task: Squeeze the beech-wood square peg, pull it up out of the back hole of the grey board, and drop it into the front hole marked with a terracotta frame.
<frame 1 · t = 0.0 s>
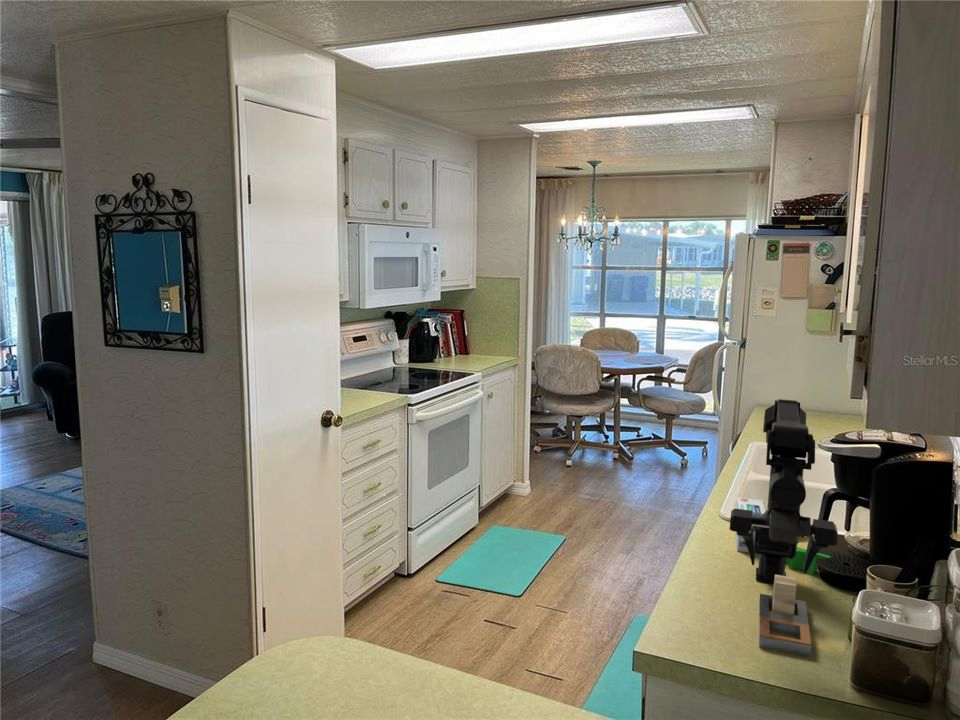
hand: (778, 568, 139), 15 cm above the countertop, tool pointing down, fingers open, 9 cm apart
light bulb box: (748, 545, 186), on the countertop
grey board: (783, 627, 146), on the countertop
onion: (785, 534, 194), on the countertop
pipe clamp: (801, 570, 173), on the countertop
beech peg: (782, 616, 151), resting in grey board
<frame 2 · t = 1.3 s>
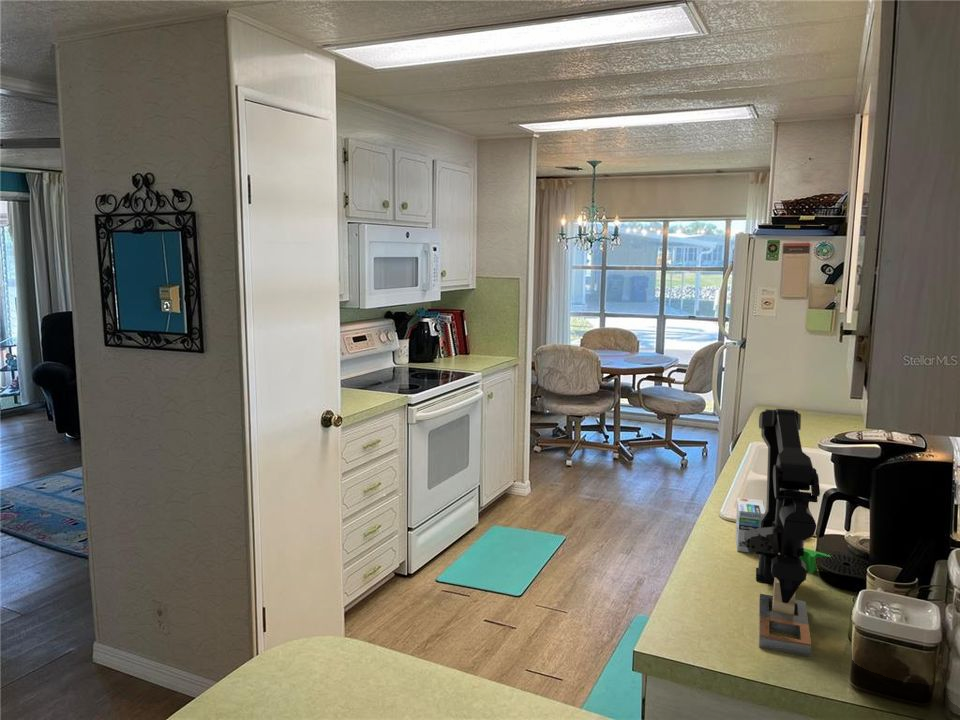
hand: (784, 592, 150), 5 cm above the countertop, tool pointing down, fingers open, 9 cm apart
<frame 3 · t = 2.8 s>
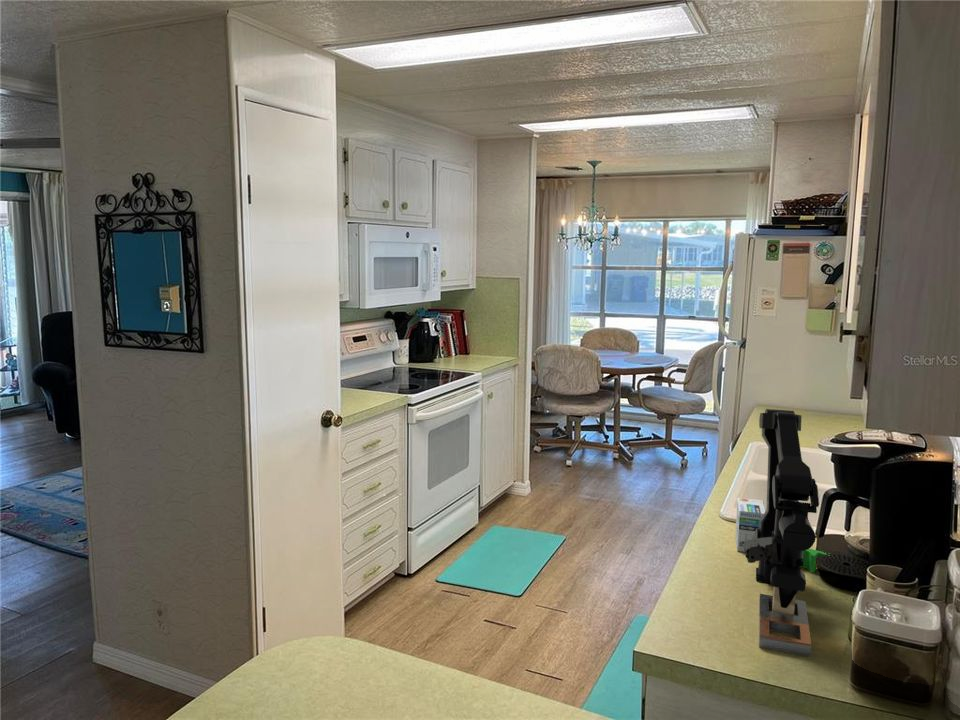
hand: (783, 602, 150), 3 cm above the countertop, tool pointing down, fingers closed on beech peg, 4 cm apart
beech peg: (782, 616, 151), resting in grey board, touching gripper
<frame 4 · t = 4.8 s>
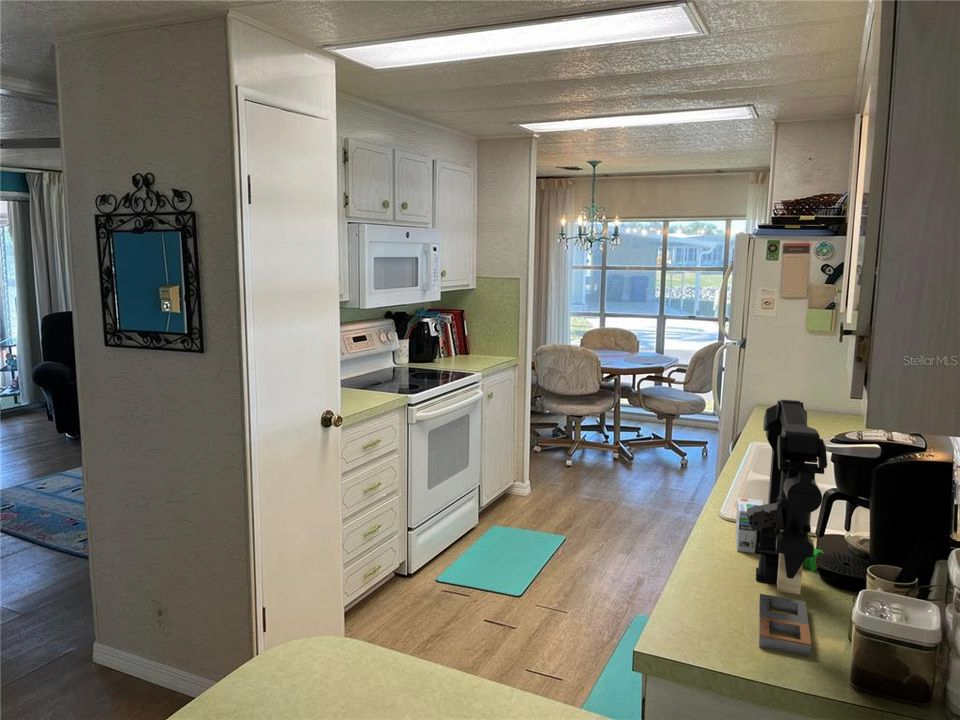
hand: (789, 573, 140), 14 cm above the countertop, tool pointing down, fingers closed on beech peg, 4 cm apart
beech peg: (788, 588, 140), point 11 cm above the countertop, touching gripper
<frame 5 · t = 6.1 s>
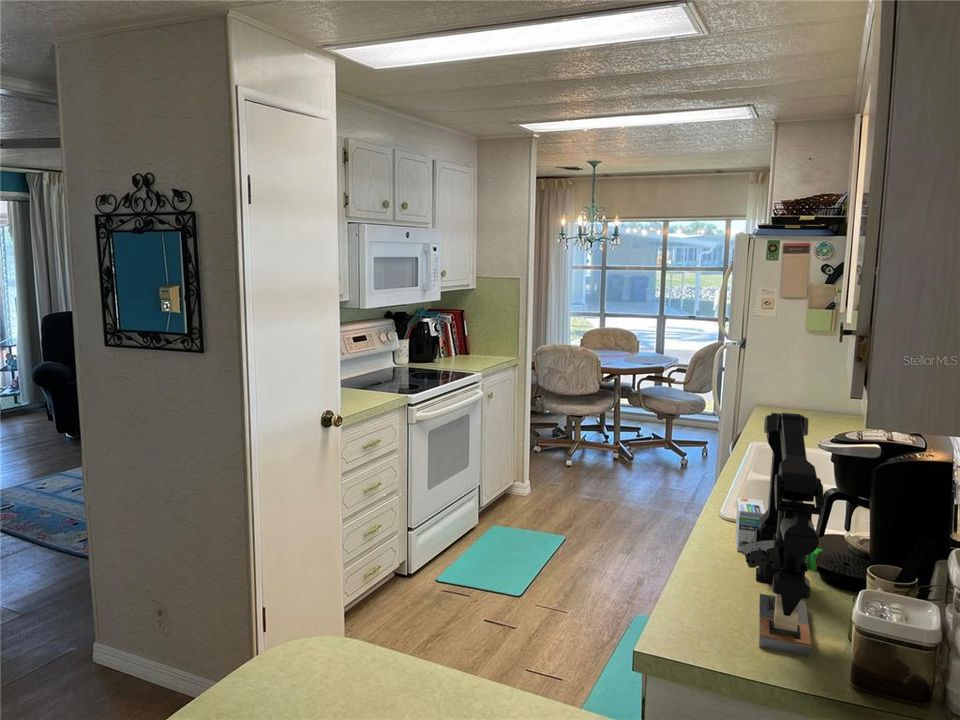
hand: (786, 610, 140), 6 cm above the countertop, tool pointing down, fingers closed on beech peg, 4 cm apart
beech peg: (785, 624, 141), point 3 cm above the countertop, touching gripper
when the fingers open (5 cm above the countertop, at t = 7.1 s): beech peg drops 2 cm, resting in grey board.
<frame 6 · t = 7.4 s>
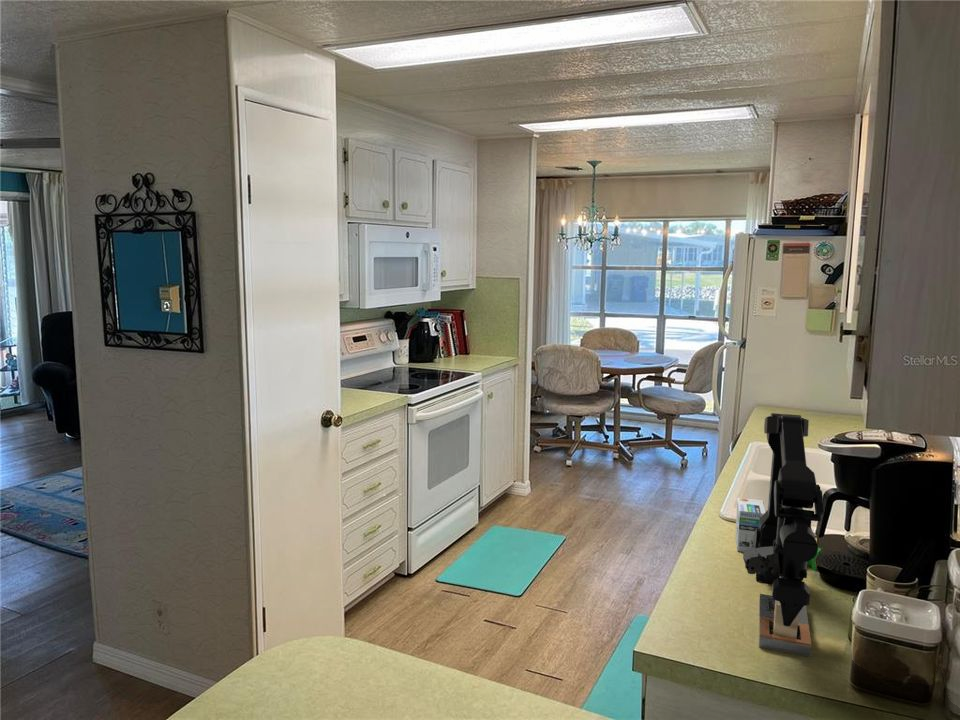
hand: (785, 616, 141), 5 cm above the countertop, tool pointing down, fingers open, 7 cm apart
beech peg: (783, 640, 141), resting in grey board
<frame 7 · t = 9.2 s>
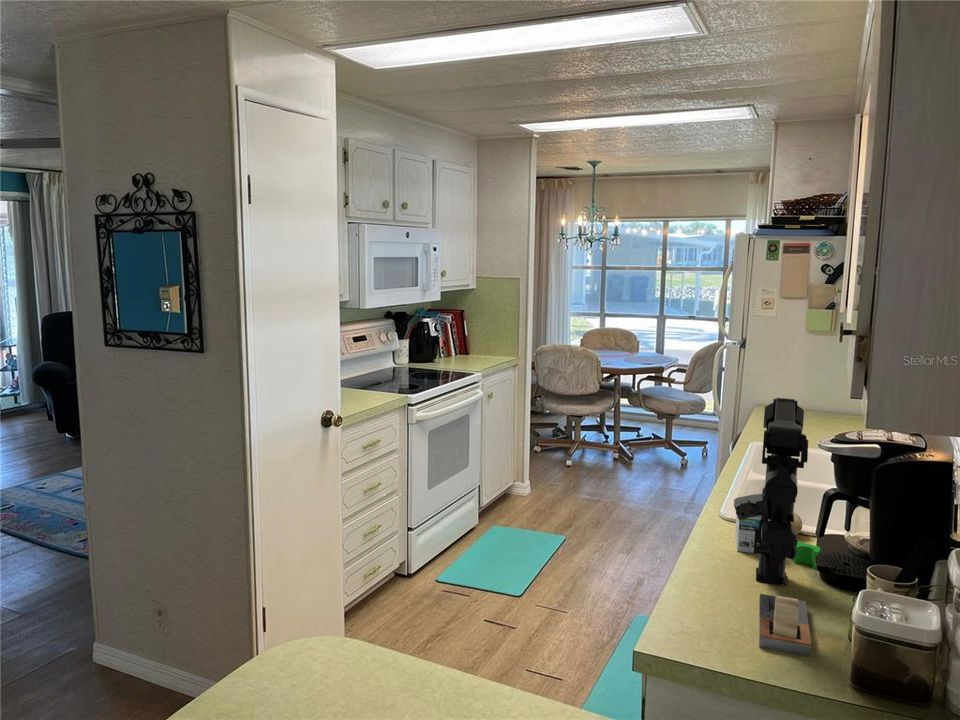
hand: (774, 559, 149), 12 cm above the countertop, tool pointing down, fingers open, 9 cm apart
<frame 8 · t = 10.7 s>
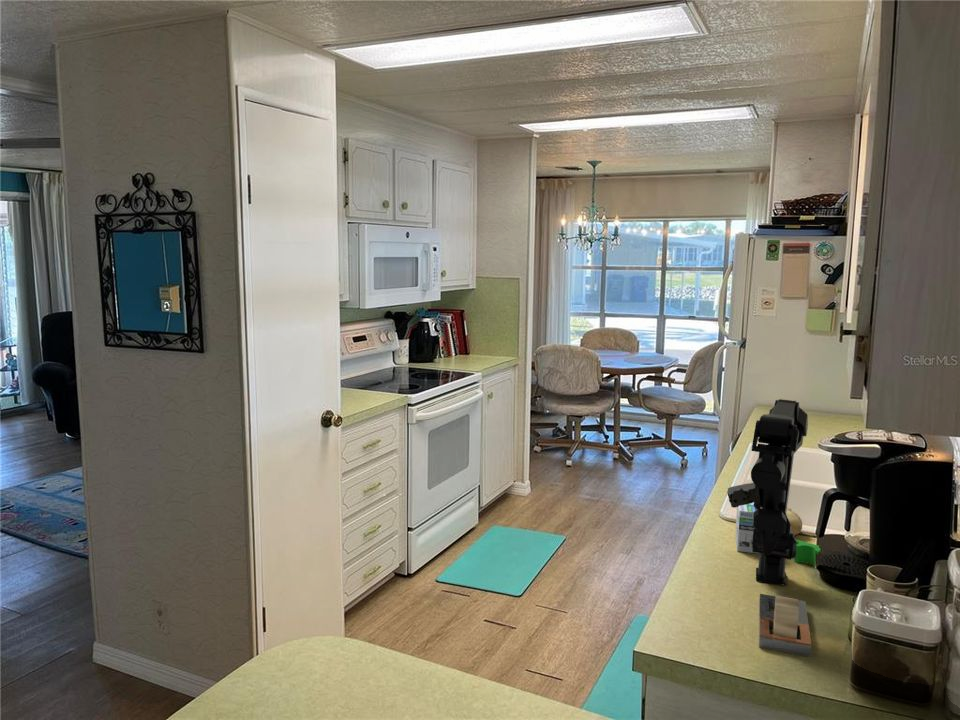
hand: (766, 546, 154), 13 cm above the countertop, tool pointing down, fingers open, 9 cm apart
at the end: beech peg 0.1 cm from the target spot on the grey board, point 0.0 cm above the grey board's base; beech peg tilted 0°; the gripper is holding nothing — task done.
